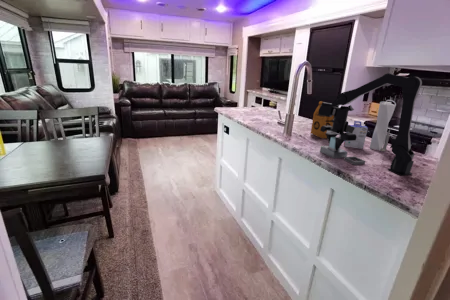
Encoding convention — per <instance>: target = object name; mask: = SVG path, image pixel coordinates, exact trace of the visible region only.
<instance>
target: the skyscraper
mask: <svg viewBox="0 0 450 300" xmlns="http://www.w3.org/2000/svg"><path fill="white" fill-rule="evenodd" d="M392 102H393V103H394V104H393V103H392ZM396 106H397V103H396V101H394V100H392V99H386V100H385V101H380V102H379V107H378V109H377V110H378V111H377V117H376V124H375V127H374V130H373V133H372V135H371V136H372V138H371V139H370V145H369V148H370V150H374V149H375V150H374V151H378V150H379V152H382V151H383V152H385V151H386V150H387V146H388V142H389V139H390V133H391V128H389V122H390V121H391V119H392V117H393V115H394V111H395V109H396ZM388 128H389V130H388Z"/></svg>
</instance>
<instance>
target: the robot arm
mask: <svg viewBox="0 0 450 300" xmlns="http://www.w3.org/2000/svg"><path fill="white" fill-rule="evenodd" d="M388 84H389V85H392V86H396V87H399V88H401V93H402V94H401V96H402V104H401V105H402V106H401V112H400V117H399V125H398V129H397V135H396V136H393V137H392V138H391V144H390V145H391V146H390V147H389V149H391V152H392V154H393V155H394V156H393V157H394V158H393V159H392V160H391V163H390V168H388V169H387V170H388V171H391V172H392V173H395V174H397V175H399V176H409V175H413V172H411V171H412V169H413V165H414V161H415V160H413V159H414V157H415V155H416V154H415V152H414V150H412V148H411V147H412V146H411V135H410V133H411V125H412V121H413V120H412V119H413V115H414V110H415V109H414V108H415V103H416V98H417V97H418V95H419V92H420V90H421V88H422V85H423V81H422V79H421V78H420V77H418V76H409V77H406V76H402V75H397V74H394V73H388V72H387V73H385V74H384V75H382V76H379V77H378V78H376V79H373V80H372V81H370V82H367V83H365V84H363V85H361V86H359V87H357V88H355V89H350V90H347V91H343V92H340V93H339V94H337V96H336V99H335V100H334V101H333V102H332V103H330V102H325V101H321V102H322V105H321V106H320V108H319V111H318V114H319V115H321V116H327V117H331V116H332V115H334V119H333V120H332V121H331V122H333V125H332V126H322V127H321V129H320V131H322V132H325V131H327V132H326V133H325V134H326V136H327V138H326V139H327V141H328V145H329V144H330V139H331V137H335V148H336V150H338V149H339V148H340V149H341V146H342V145H343V144H344V141H352V140H356V137H357V136H356V134H353V131H354V129H355V128H354V127H352V126H350V125H351V124H349V121H347V120H348V116H349V113H350V112H353V111H354V110H355V109H354V108H353V106H352V105H351V103H353V102H354V101H356V100H357V99H358V98H359V97H361V96H363V95H365V94H369V93H370V92H372V91H374V90H377V89H379V88H381V87H383V86H386V85H388ZM349 104H350V105H349ZM345 105H348V106H345ZM338 106H340V107H338ZM346 132H349V133H346Z"/></svg>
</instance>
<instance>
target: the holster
mask: <svg viewBox="0 0 450 300" xmlns="http://www.w3.org/2000/svg"><path fill="white" fill-rule="evenodd" d="M343 159H344V161H345V162H348V163H349V162H350V163H349V164H351V165H354V166H359V165H365V164H366V160H364V159H362V158H360V157H357V156H356V155H354V156H347V157H344V158H343Z"/></svg>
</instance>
